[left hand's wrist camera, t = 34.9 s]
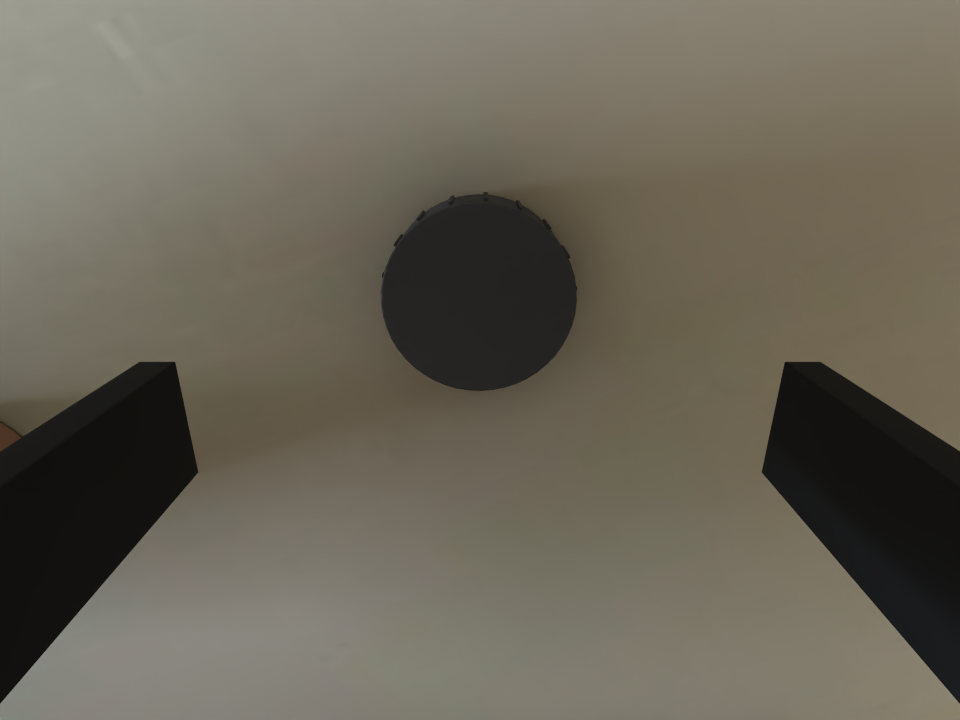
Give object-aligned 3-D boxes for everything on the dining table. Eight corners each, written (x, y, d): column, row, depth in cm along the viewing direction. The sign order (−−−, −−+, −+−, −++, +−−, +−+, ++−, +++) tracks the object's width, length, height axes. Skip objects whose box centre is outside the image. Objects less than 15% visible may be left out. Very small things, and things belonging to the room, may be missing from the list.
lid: (407, 171, 17) (398, 176, 15) (594, 219, 17) (606, 230, 16) (374, 346, 19) (362, 369, 17) (540, 384, 20) (546, 410, 18)
